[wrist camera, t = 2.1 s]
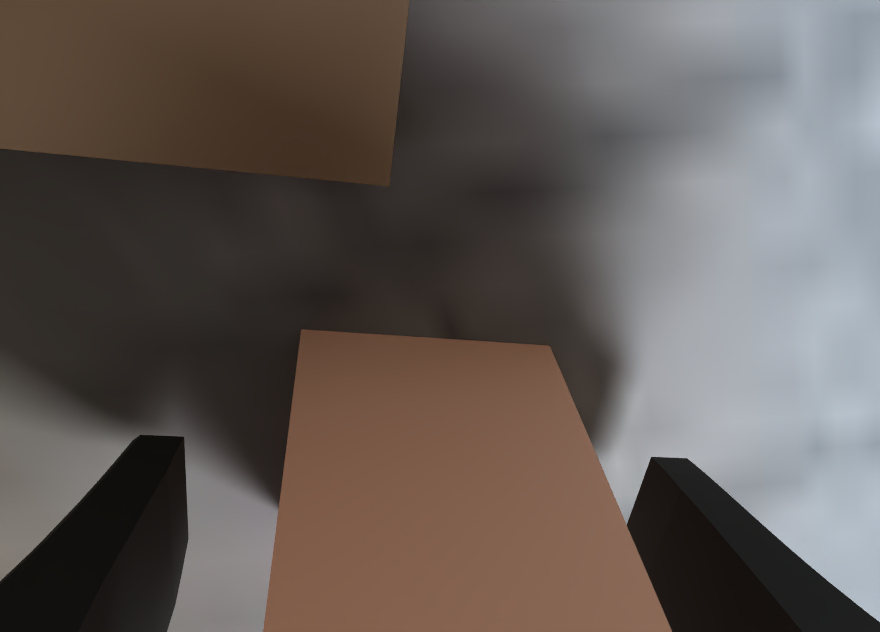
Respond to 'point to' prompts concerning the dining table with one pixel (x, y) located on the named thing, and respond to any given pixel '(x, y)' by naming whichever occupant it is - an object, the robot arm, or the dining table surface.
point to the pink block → (446, 496)
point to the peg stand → (207, 83)
